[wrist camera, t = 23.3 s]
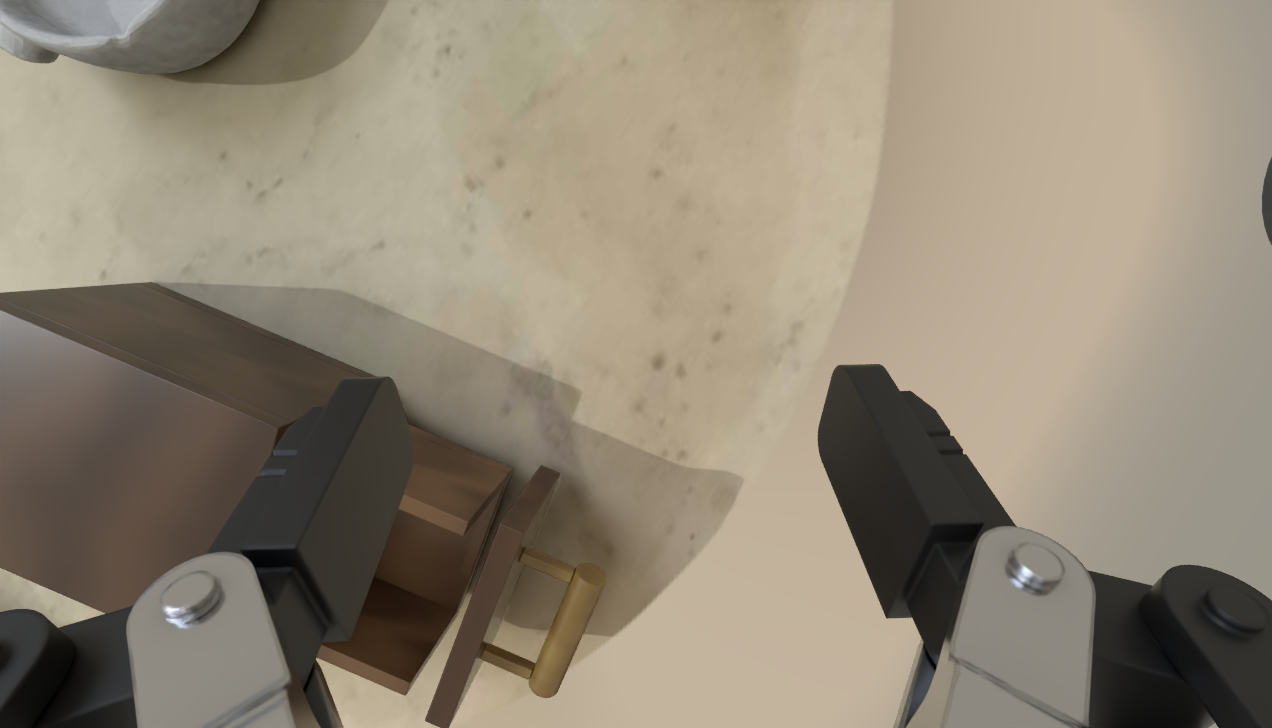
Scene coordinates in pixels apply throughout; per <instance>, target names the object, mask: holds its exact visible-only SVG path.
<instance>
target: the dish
mask: <svg viewBox="0 0 1272 728" xmlns="http://www.w3.org/2000/svg"><path fill="white" fill-rule="evenodd" d="M259 1H260V0H0V48H2V49H3V50H5V51H6V52H8V53H10V54H11V55H13V56H15V57H17V58H20V59H22V60H25V61H29V62H34V63H51V62H54V61H55V60H56V59H57V58H58V56H59V54H61V55H64V56H67V57H70V58H73V59H76V60H79V61H82V62H85V63H88V64H92V65H96V66H99V67H103V68H108V69H114V70H119V71H126V72H133V73H144V74H166V73H176V72H181V71H185V70H188V69H192V68H195V67H198V66H200V65H202V64H204V63H206V62H208V61H209V60H211V59H213V58H214V57H216V56H217V55H219V54H220V53H221V52H223V51H224V50H225V49H226V48H228V47H229V46H230V45H231V44H232V43H233V42H234V41H235V39H236V38H237V37H238V36H239V35H240V34H241V32H242V31H243V29H244V28H245V27H246V25H247V24H248V22H249V21H250V19H251V17H252V16H253V14H254V12H255V10H256V7H257V5H258V3H259Z"/></svg>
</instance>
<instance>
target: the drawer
mask: <svg viewBox="0 0 1272 728" xmlns="http://www.w3.org/2000/svg"><path fill="white" fill-rule="evenodd" d="M408 426H409V429H410V432H411V435H412V439H413V444H414V463H413V469H412V473H411V476H410V478H409V481H408V484H407V486H406V489H405V492H404V495H403V497H402V500H401V503H400V506H399V508H398V511H397V514H396V517H395V519H394V522H393V525H392V528H391V530H390V533H389V536H388V539H387V541H386V544H385V547H384V550H383V552H382V555H381V558H380V561H379V563H378V566H377V569H376V571H375V574H374V577H373V580H372V582H371V585H370V588H369V591H368V593H367V596H366V599H365V602H364V604H363V607H362V610H361V613H360V615H359V618H358V621H357V624H356V626H355V629H354V632H353V635H352V637H351V640H350V641H344V642H322V644H321V647H320V649H319V652H318V654H317V658H319V659H321V660H324V661H326V662H328V663H331V664H333V665H335V666H338V667H340V668H342V669H345V670H347V671H349V672H351V673H354V674H356V675H358V676H361V677H363V678H365V679H368V680H370V681H372V682H375V683H377V684H379V685H382V686H384V687H386V688H389V689H391V690H393V691H395V692H398V693H400V694H402V695H406V694H407V693H408V691H409V690H410V688H411V687H412V685H413V683H414V682H415V680H416V679H417V677H418V676H419V674H420V673H421V671H422V670H423V668H424V666H425V665H426V663H427V662H428V660H429V659H430V657H431V656H432V654H433V652H434V651H435V649H436V648H437V646H438V645H439V643H440V642H441V640H442V638H443V637H444V635H445V634H446V632H447V631H448V629H449V628H450V626H451V625H452V623H453V621H454V620H455V618H456V617H457V615H458V613H459V611H460V608H461V605H462V603H463V600H464V597H465V595H466V592H467V589H468V587H469V584H470V581H471V579H472V576H473V573H474V571H475V568H476V566H477V563H478V560H479V558H480V555H481V552H482V550H483V547H484V544H485V542H486V539H487V536H488V534H489V531H490V528H491V526H492V523H493V520H494V518H495V515H496V512H497V510H498V507H499V504H500V502H501V499H502V496H503V494H504V491H505V488H506V486H507V483H508V481H509V478H510V475H511V473H512V470H513V468H511V467H509V466H506V465H504V464H502V463H499V462H497V461H494V460H492V459H490V458H487V457H485V456H483V455H480V454H478V453H476V452H473V451H471V450H468V449H466V448H464V447H461V446H459V445H457V444H454V443H452V442H450V441H447V440H445V439H442V438H440V437H438V436H435V435H433V434H431V433H428V432H426V431H424V430H421V429H419V428H416V427H414V426H412V425H409V424H408ZM559 476H560V473H559V472H556V471H554V470H552V469H549V468H547V467H545V466H542V465H541V466H540V467H539V468H538V470H537V471H536V472H535V474H534V475H533V477H532V478H531V480H530V481H529V482H528V484H527V485H526V487H525V488H524V489H523V491H522V492H521V494H520V495H519V497H518V498H517V499H516V501H515V502H514V504H513V505H512V506H511V508H510V509H509V511H508V512H507V514H506V515H505V516H504V518H503V519H502V521H501V522H500V524H499V526H498V529H497V531H496V534H495V537H494V539H493V542H492V545H491V547H490V550H489V553H488V555H487V558H486V560H485V563H484V566H483V568H482V571H481V574H480V576H479V579H478V582H477V584H476V587H475V589H474V592H473V595H472V597H471V600H470V603H469V605H468V608H467V610H466V613H465V616H464V618H463V621H462V624H461V626H460V629H459V632H458V634H457V637H456V639H455V642H454V645H453V647H452V650H451V653H450V655H449V658H448V660H447V663H446V666H445V668H444V671H443V674H442V676H441V679H440V682H439V684H438V687H437V689H436V692H435V695H434V697H433V700H432V703H431V705H430V708H429V711H428V713H427V716H426V718H425V721H426V722H429V723H431V724H433V725H436V726H438V727H440V728H449V726H450V724H451V722H452V720H453V718H454V716H455V714H456V713H457V711H458V709H459V707H460V705H461V703H462V701H463V699H464V697H465V695H466V693H467V691H468V689H469V687H470V685H471V683H472V681H473V679H474V677H475V675H476V674H477V672H478V670H479V668H480V666H481V664H482V662H483V660H484V661H486V662H488V663H491V664H493V665H495V666H498V667H500V668H502V669H505V670H507V671H509V672H512V673H514V674H516V675H519V676H521V677H523V678H526V679H529V686H530V689H531V690H532V691H533V692H534V693H535V694H536V695H538V696H540V697H543V698H550V697H552V696H554V695H555V694H556V693H557V692H558V689H559V687H560V685H561V683H562V680H563V678H564V676H565V674H566V671H567V669H568V667H569V665H570V662H571V660H572V658H573V656H574V653H575V651H576V649H577V647H578V644H579V642H580V640H581V638H582V635H583V633H584V631H585V628H586V626H587V624H588V622H589V619H590V617H591V615H592V613H593V610H594V608H595V606H596V604H597V601H598V599H599V597H600V595H601V592H602V590H603V588H604V586H605V583H606V575H605V573H604V572H603V571H602V570H601V569H600V568H598V567H596V566H594V565H592V564H587V563H584V564H580V565H578V566H577V567H576V569H575V567H573V566H570V565H568V564H566V563H563V562H561V561H559V560H556V559H554V558H552V557H549V556H547V555H545V554H542V553H540V552H538V551H535V550H533V549H531V546H532V544H533V541H534V539H535V536H536V534H537V531H538V529H539V526H540V524H541V521H542V519H543V516H544V514H545V511H546V509H547V506H548V504H549V501H550V499H551V496H552V494H553V491H554V489H555V486H556V484H557V481H558V479H559ZM524 564H525V565H527V566H530V567H532V568H534V569H537V570H539V571H541V572H544V573H546V574H548V575H551V576H553V577H555V578H558V579H560V580H562V581H565V582H567V583H570V584H569V586H568V588H567V591H566V593H565V595H564V598H563V600H562V602H561V605H560V607H559V609H558V612H557V614H556V617H555V619H554V621H553V624H552V626H551V628H550V631H549V633H548V635H547V638H546V640H545V642H544V645H543V647H542V649H541V652H540V654H539V657H538V659H537V661H536V664H535V663H534V662H531V661H529V660H527V659H524V658H522V657H520V656H518V655H515V654H513V653H511V652H508V651H506V650H504V649H501V648H499V647H497V646H494V645H492V642H493V640H494V638H495V636H496V634H497V631H498V629H499V626H500V624H501V621H502V619H503V616H504V614H505V611H506V609H507V606H508V604H509V601H510V599H511V596H512V594H513V591H514V589H515V586H516V584H517V581H518V579H519V576H520V574H521V571H522V569H523V566H524Z"/></svg>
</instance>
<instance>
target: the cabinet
mask: <svg viewBox="0 0 1272 728" xmlns="http://www.w3.org/2000/svg"><path fill="white" fill-rule="evenodd" d="M353 377H375V376H373V375H371V374H368V373H366V372H363V371H361V370H359V369H356V368H354V367H352V366H349V365H347V364H344V363H342V362H340V361H337V360H335V359H333V358H330V357H328V356H326V355H323V354H321V353H318V352H316V351H314V350H311V349H309V348H307V347H304V346H302V345H299V344H297V343H295V342H292V341H290V340H288V339H285V338H283V337H280V336H278V335H276V334H273V333H271V332H269V331H266V330H264V329H262V328H259V327H257V326H254V325H252V324H250V323H247V322H245V321H243V320H240V319H238V318H235V317H233V316H231V315H228V314H226V313H224V312H221V311H219V310H216V309H214V308H212V307H209V306H207V305H205V304H202V303H200V302H198V301H195V300H193V299H190V298H188V297H186V296H183V295H181V294H179V293H176V292H174V291H171V290H169V289H167V288H164V287H162V286H160V285H157V284H155V283H152V282H148V283H132V284H118V285H104V286H90V287H76V288H61V289H47V290H33V291H19V292H5V293H0V568H2V569H4V570H7V571H9V572H11V573H13V574H16V575H18V576H20V577H23V578H25V579H27V580H30V581H32V582H34V583H36V584H39V585H41V586H43V587H46V588H48V589H50V590H53V591H55V592H57V593H60V594H62V595H64V596H66V597H69V598H71V599H73V600H76V601H78V602H80V603H83V604H85V605H87V606H90V607H92V608H94V609H96V610H99V611H101V612H103V613H106V614H107V613H110V612H114V611H117V610H120V609H124V608H127V607H130V606H133V605H135V603H136V602H137V600H138V599H139V597H140V596H141V595H142V594H143V593H144V592H145V590H146V589H147V588H148V587H149V586H151V585H152V584H153V583H154V582H155V581H156V580H157V579H159V578H160V577H161V576H162V575H164V574H165V573H167V572H168V571H170V570H171V569H173V568H174V567H176V566H178V565H180V564H182V563H184V562H186V561H188V560H190V559H193V558H195V557H198V556H202V555H205V554H206V553H207V551H208V550H209V548H210V547H211V545H212V544H213V542H214V540H215V539H216V537H217V536H218V534H219V533H220V531H221V530H222V528H223V527H224V525H225V524H226V522H227V520H228V519H229V517H230V516H231V514H232V513H233V511H234V510H235V508H236V507H237V505H238V504H239V502H240V500H241V499H242V497H243V496H244V494H245V493H246V491H247V490H248V488H249V487H250V485H251V484H252V482H253V481H254V479H255V477H256V476H259V475H260V470H261V468H262V467H263V465H264V464H265V462H266V461H267V459H268V457H269V456H272V455H273V452H272V451H273V450H274V448H275V447H276V445H277V444H278V442H279V441H280V439H281V437H282V436H283V434H284V433H285V431H286V430H287V428H288V427H289V426H291V425H292V424H293V423H294V422H296V421H297V420H298V419H299V418H300V417H302V416H303V415H304V414H305V413H307V412H308V411H309V410H310V409H311V408H313V407H325V406H326V404H327V402H328V401H329V399H330V397H331V396H332V394H333V392H334V391H335V389H336V387H337V386H338V384H339V383H340V381H341V380H342V379H344V378H353Z"/></svg>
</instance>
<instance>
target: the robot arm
mask: <svg viewBox="0 0 1272 728" xmlns="http://www.w3.org/2000/svg"><path fill="white" fill-rule="evenodd" d="M818 447H819V453H820V457H821V460H822V463H823V465H824V468H825V470H826V472H827V475H828V477H829V480H830V482H831V485H832V487H833V490H834V492H835V494H836V497H837V499H838V502H839V504H840V507H841V509H842V511H843V514H844V516H845V519H846V521H847V524H848V526H849V529H850V531H851V533H852V536H853V538H854V541H855V543H856V546H857V548H858V550H859V553H860V555H861V558H862V560H863V563H864V565H865V568H866V570H867V572H868V575H869V577H870V580H871V582H872V585H873V587H874V589H875V592H876V594H877V597H878V599H879V601H880V604H881V606H882V609H883V611H884V614H885V616H886V618H909V617H910V618H911V617H912V618H913V620H914V622H915V624H916V627H917V629H918V631H919V633H920V636H921V638H922V639H921V641H920V643H919V645H918V649H917V652H916V655H915V658H914V662H913V665H912V668H911V672H910V675H909V678H908V681H907V684H906V688H905V691H904V695H903V698H902V701H901V704H900V708H899V711H898V714H897V717H896V721H895V724H894V727H893V728H1208V727H1210V726H1211V725H1213V724H1214V723H1216V724H1217V726H1218V727H1219V728H1272V601H1271V600H1270V599H1269V598H1268V597H1266V596H1265V595H1263V594H1262V593H1261V592H1259V591H1258V590H1256V589H1255V588H1253V587H1251V586H1250V585H1248V584H1246V583H1245V582H1243V581H1241V580H1239V579H1237V578H1235V577H1233V576H1230V575H1228V574H1226V573H1223V572H1220V571H1217V570H1214V569H1211V568H1207V567H1202V566H1195V565H1180V566H1176V567H1173V568H1171V569H1169V570H1168V571H1167V572H1166V573H1165V574H1164V575H1163V576H1162V577H1161V578H1160V579H1159V580H1158V581H1157V582H1156V583H1155V584H1154V586H1151V585H1147V584H1142V583H1138V582H1134V581H1130V580H1126V579H1121V578H1117V577H1113V576H1109V575H1105V574H1100V573H1096V572H1092V571H1088V570H1086V568H1085V567H1084V566H1083V564H1082V563H1081V562H1080V561H1079V560H1078V559H1077V558H1076V557H1075V556H1074V555H1073V554H1072V553H1071V552H1070V551H1068V550H1067V549H1066V548H1064V547H1063V546H1062V545H1060V544H1059V543H1057V542H1056V541H1054V540H1052V539H1050V538H1048V537H1046V536H1044V535H1042V534H1040V533H1038V532H1035V531H1032V530H1029V529H1025V528H1021V527H1017V526H1016V525H1015V524H1014V523H1013V521H1012V520H1011V518H1010V517H1009V515H1008V514H1007V513H1006V511H1005V510H1004V508H1003V507H1002V505H1001V504H1000V502H999V501H998V500H997V498H996V497H995V495H994V494H993V492H992V491H991V489H990V488H989V487H988V485H987V484H986V482H985V481H984V479H983V478H982V476H981V475H980V474H979V472H978V471H977V469H976V468H975V467H974V465H973V464H972V462H971V461H970V459H969V458H968V456H967V455H966V454H965V455H964V454H963V449H962V448H961V446H960V445H959V443H958V442H957V441H956V439H955V438H954V436H950V430H949V429H948V428H947V426H946V425H945V423H944V422H943V420H942V419H941V417H940V416H939V415H938V413H937V412H936V410H935V409H933V408H932V407H931V406H930V405H928V404H927V403H926V402H924V401H923V400H922V399H920V398H919V397H918V396H916V395H915V394H914V393H913V392H911V391H899V389H898V388H897V386H896V384H895V383H894V381H893V380H892V378H891V377H890V375H889V373H888V372H887V370H886V369H885V368H884V367H883V366H882V365H880V364H869V365H868V364H867V365H839V366H837V367H836V368H835V370H834V371H833V374H832V377H831V381H830V385H829V389H828V393H827V397H826V401H825V404H824V408H823V412H822V416H821V420H820V424H819V429H818ZM272 452H273V455H272V456H269V457H268V459H267V461H266V462H265V464H264V465H263V467H262V468H261V470H260V475H259V476H256V477H255V479H254V481H253V482H252V484H251V485H250V487H249V488H248V490H247V491H246V493H245V494H244V496H243V497H242V499H241V500H240V502H239V504H238V505H237V507H236V508H235V510H234V511H233V513H232V514H231V516H230V517H229V519H228V520H227V522H226V524H225V525H224V527H223V528H222V530H221V531H220V533H219V534H218V536H217V537H216V539H215V540H214V542H213V544H212V545H211V547H210V548H209V550H208V551H207V553H206V554H205V555H202V556H198V557H195V558H193V559H190V560H188V561H186V562H184V563H182V564H180V565H178V566H176V567H174V568H173V569H171V570H170V571H168V572H167V573H165V574H164V575H162V576H161V577H160V578H159V579H157V580H156V581H155V582H154V583H153V584H152V585H151V586H149V587H148V588H147V589H146V590H145V592H144V593H143V594H142V595H141V596H140V597H139V599H138V600H137V602H136V603H135V605H133V606H130V607H127V608H124V609H120V610H117V611H114V612H110V613H107V614H104V615H100V616H97V617H93V618H90V619H87V620H83V621H80V622H77V623H73V624H70V625H66V626H63V627H60V628H57V627H56V626H55V625H54V624H53V623H52V622H51V621H49V620H48V619H47V618H46V617H45V616H44V615H43V614H42V613H39V612H37V611H35V610H29V609H15V610H9V611H4V612H0V728H344V727H343V725H342V722H341V719H340V717H339V714H338V711H337V709H336V706H335V704H334V701H333V698H332V696H331V693H330V690H329V688H328V685H327V682H326V680H325V677H324V675H323V672H322V669H321V667H320V666H319V664H318V662H317V661H316V657H317V654H318V652H319V649H320V647H321V644H322V642H344V641H350V640H351V637H352V635H353V632H354V629H355V626H356V624H357V621H358V618H359V615H360V613H361V610H362V607H363V604H364V602H365V599H366V596H367V593H368V591H369V588H370V585H371V582H372V580H373V577H374V574H375V571H376V569H377V566H378V563H379V561H380V558H381V555H382V552H383V550H384V547H385V544H386V541H387V539H388V536H389V533H390V530H391V528H392V525H393V522H394V519H395V517H396V514H397V511H398V508H399V506H400V503H401V500H402V497H403V495H404V492H405V489H406V486H407V484H408V481H409V478H410V476H411V473H412V469H413V463H414V444H413V439H412V435H411V432H410V429H409V426H408V422H407V419H406V416H405V413H404V410H403V407H402V403H401V400H400V397H399V394H398V391H397V388H396V385H395V383H394V381H393V380H392V379H391V378H390V377H353V378H344V379H342V380H341V381H340V383H339V384H338V386H337V387H336V389H335V391H334V392H333V394H332V396H331V397H330V399H329V401H328V402H327V404H326V406H325V407H313V408H311V409H310V410H309V411H308V412H307V413H305V414H304V415H303V416H302V417H300V418H299V419H298V420H297V421H296V422H294V423H293V424H292V425H291V426H289V427H288V428H287V430H286V431H285V433H284V434H283V436H282V437H281V439H280V441H279V442H278V444H277V445H276V447H275V448H274V450H273V451H272Z"/></svg>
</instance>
